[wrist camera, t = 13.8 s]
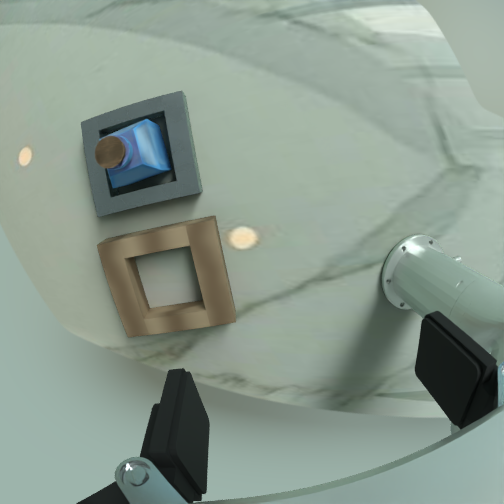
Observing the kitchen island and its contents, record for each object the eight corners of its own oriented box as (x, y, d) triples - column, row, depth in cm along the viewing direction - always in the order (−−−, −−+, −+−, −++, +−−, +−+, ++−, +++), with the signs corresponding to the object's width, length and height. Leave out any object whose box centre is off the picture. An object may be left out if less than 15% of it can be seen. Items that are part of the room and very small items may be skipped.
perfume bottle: (130, 184, 37) (91, 193, 25) (117, 142, 35) (75, 135, 24) (172, 169, 37) (146, 170, 25) (159, 125, 35) (129, 110, 23)
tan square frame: (215, 215, 39) (213, 220, 35) (235, 310, 43) (235, 322, 39) (106, 238, 39) (96, 245, 35) (134, 325, 43) (128, 337, 39)
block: (185, 96, 34) (181, 90, 31) (202, 190, 38) (200, 192, 35) (90, 124, 34) (80, 122, 31) (106, 213, 38) (97, 217, 35)
